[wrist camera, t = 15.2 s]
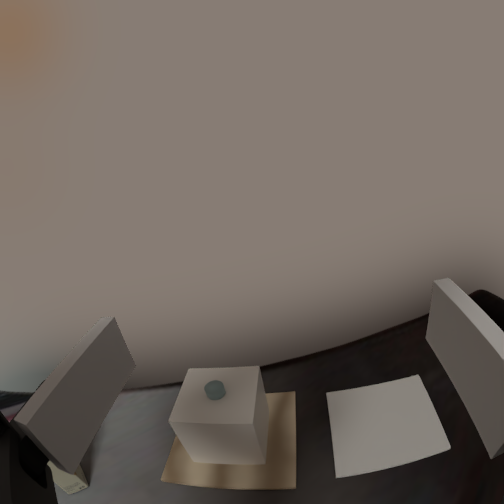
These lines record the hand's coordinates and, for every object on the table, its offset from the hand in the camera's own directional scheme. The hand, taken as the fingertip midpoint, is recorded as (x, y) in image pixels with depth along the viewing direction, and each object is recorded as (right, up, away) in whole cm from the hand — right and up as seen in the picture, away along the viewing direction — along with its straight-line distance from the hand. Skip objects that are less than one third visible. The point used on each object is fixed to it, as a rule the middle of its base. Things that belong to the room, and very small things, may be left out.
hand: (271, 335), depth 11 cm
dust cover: (-3, -24, +25) cm, 35 cm away
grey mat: (+18, -21, +23) cm, 36 cm away
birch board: (-3, -24, +26) cm, 35 cm away
